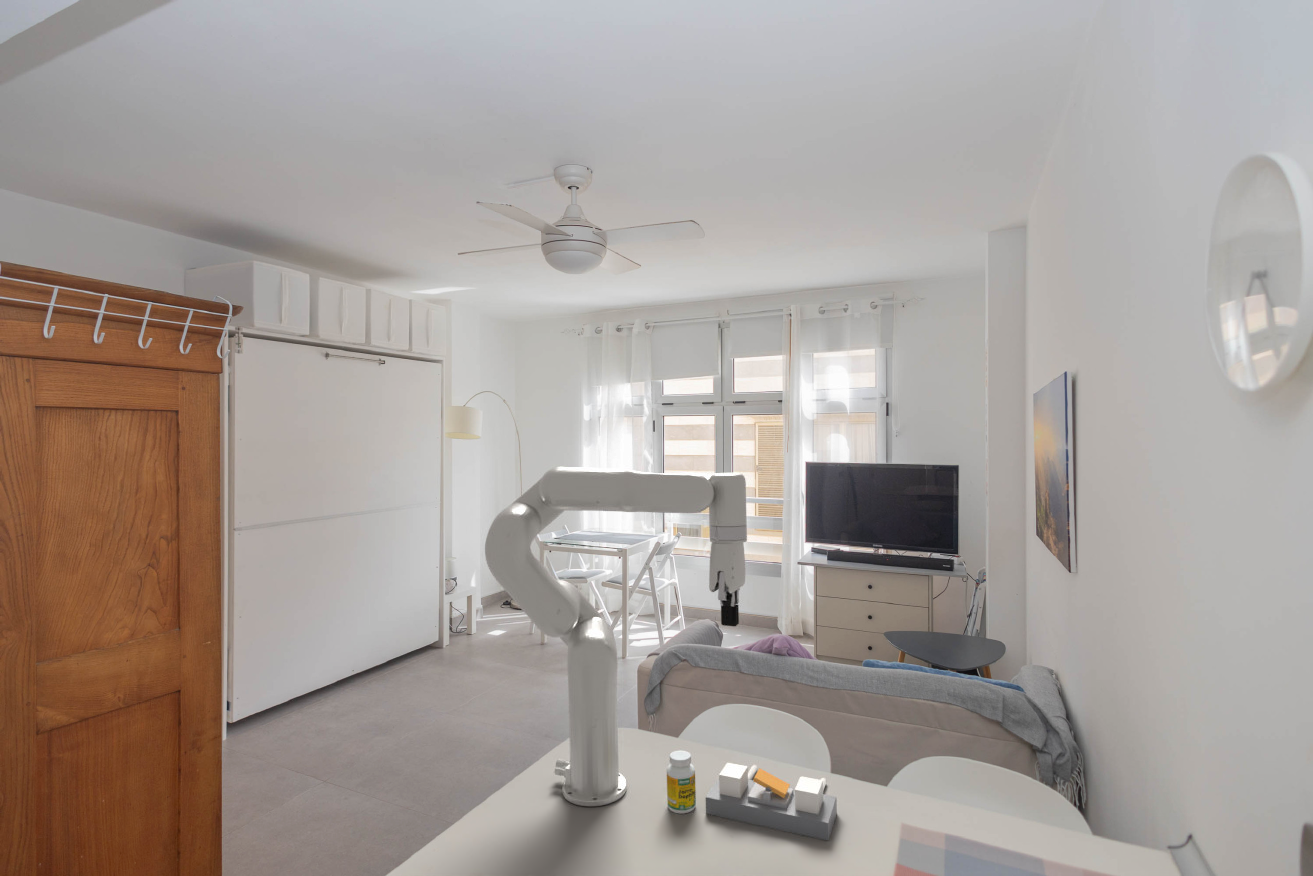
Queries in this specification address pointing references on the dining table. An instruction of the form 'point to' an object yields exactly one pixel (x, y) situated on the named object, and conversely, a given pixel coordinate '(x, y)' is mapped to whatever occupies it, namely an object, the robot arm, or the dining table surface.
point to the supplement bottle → (681, 783)
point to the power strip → (773, 803)
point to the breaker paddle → (771, 783)
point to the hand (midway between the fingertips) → (730, 624)
